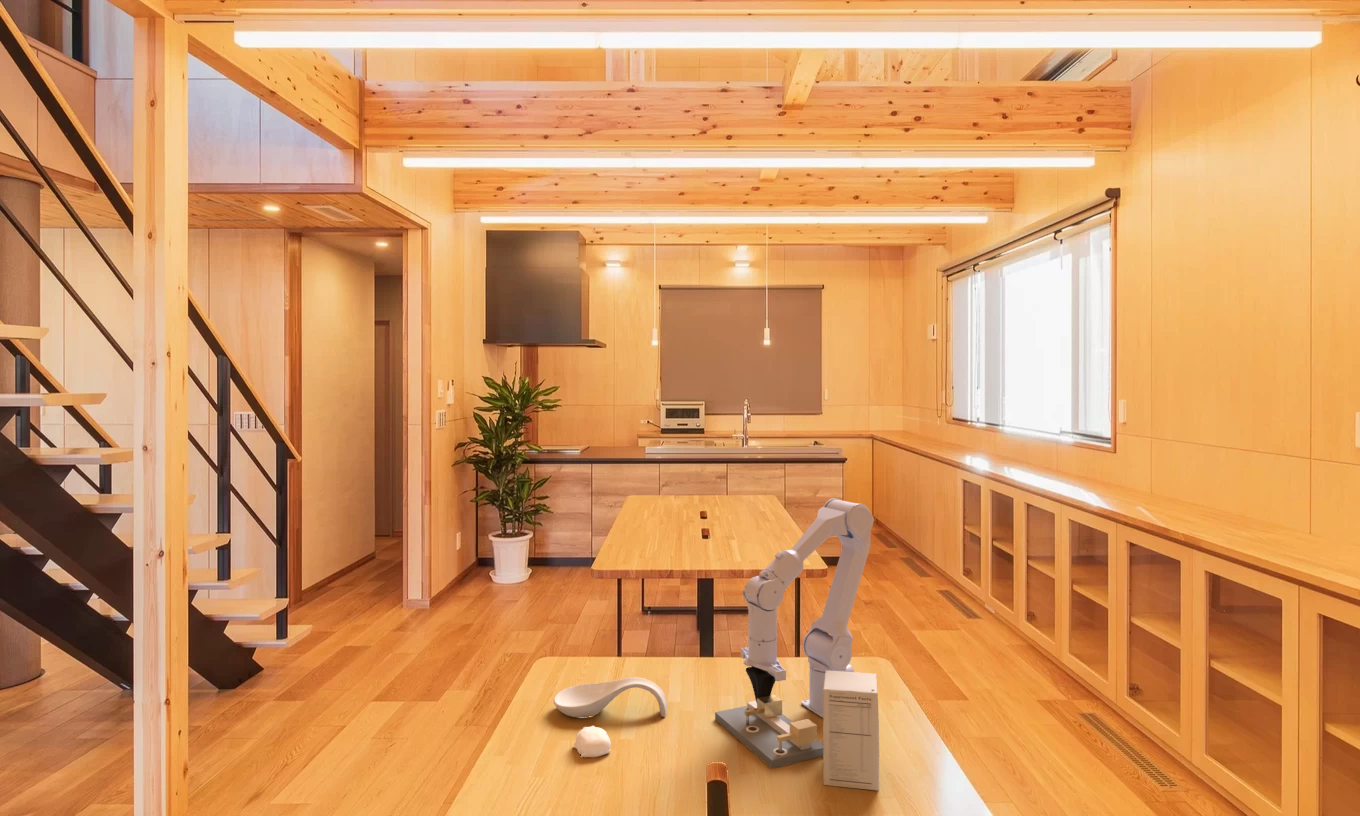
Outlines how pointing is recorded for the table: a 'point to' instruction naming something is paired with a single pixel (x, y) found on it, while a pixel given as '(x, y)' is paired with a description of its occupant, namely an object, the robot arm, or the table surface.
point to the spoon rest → (602, 696)
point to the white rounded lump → (592, 742)
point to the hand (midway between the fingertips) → (762, 703)
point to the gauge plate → (773, 736)
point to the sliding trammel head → (766, 707)
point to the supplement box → (851, 730)
